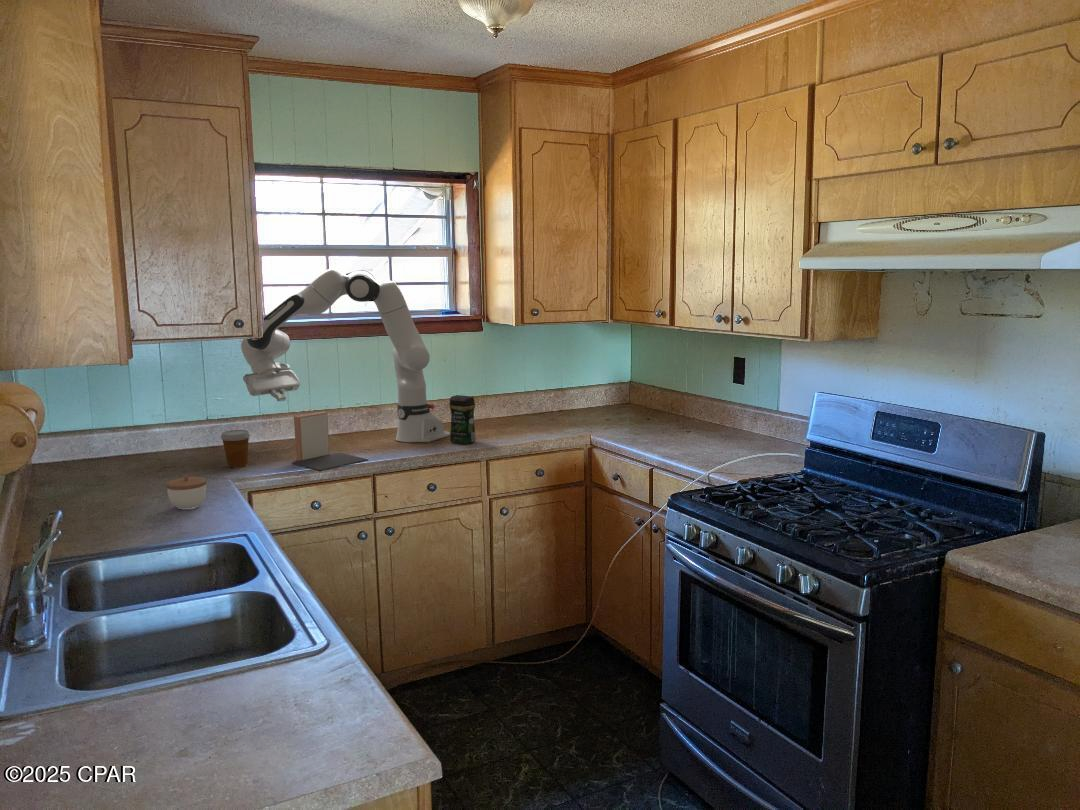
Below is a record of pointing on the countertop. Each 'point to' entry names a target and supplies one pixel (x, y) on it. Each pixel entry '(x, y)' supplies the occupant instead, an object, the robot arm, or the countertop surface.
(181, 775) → the countertop surface
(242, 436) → the disposable coffee cup
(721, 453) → the countertop surface
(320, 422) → the tile
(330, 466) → the mat
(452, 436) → the coffee jar
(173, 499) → the lidded jar
